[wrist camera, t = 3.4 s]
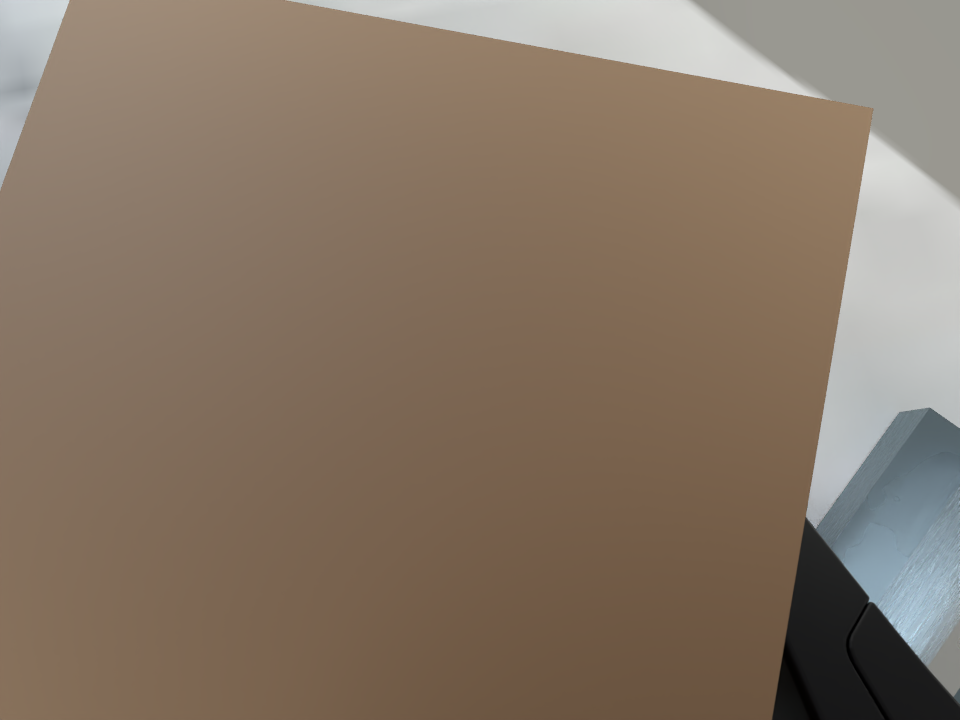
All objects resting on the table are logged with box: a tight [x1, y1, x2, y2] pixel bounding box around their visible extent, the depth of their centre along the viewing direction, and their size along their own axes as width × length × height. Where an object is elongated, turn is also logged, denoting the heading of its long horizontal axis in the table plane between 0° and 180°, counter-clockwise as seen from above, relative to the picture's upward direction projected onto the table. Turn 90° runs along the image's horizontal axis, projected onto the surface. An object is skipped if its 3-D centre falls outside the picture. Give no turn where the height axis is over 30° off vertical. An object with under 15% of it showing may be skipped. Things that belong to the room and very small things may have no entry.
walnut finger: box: [0, 0, 873, 720], centre depth 9 cm, size 5×4×14 cm
